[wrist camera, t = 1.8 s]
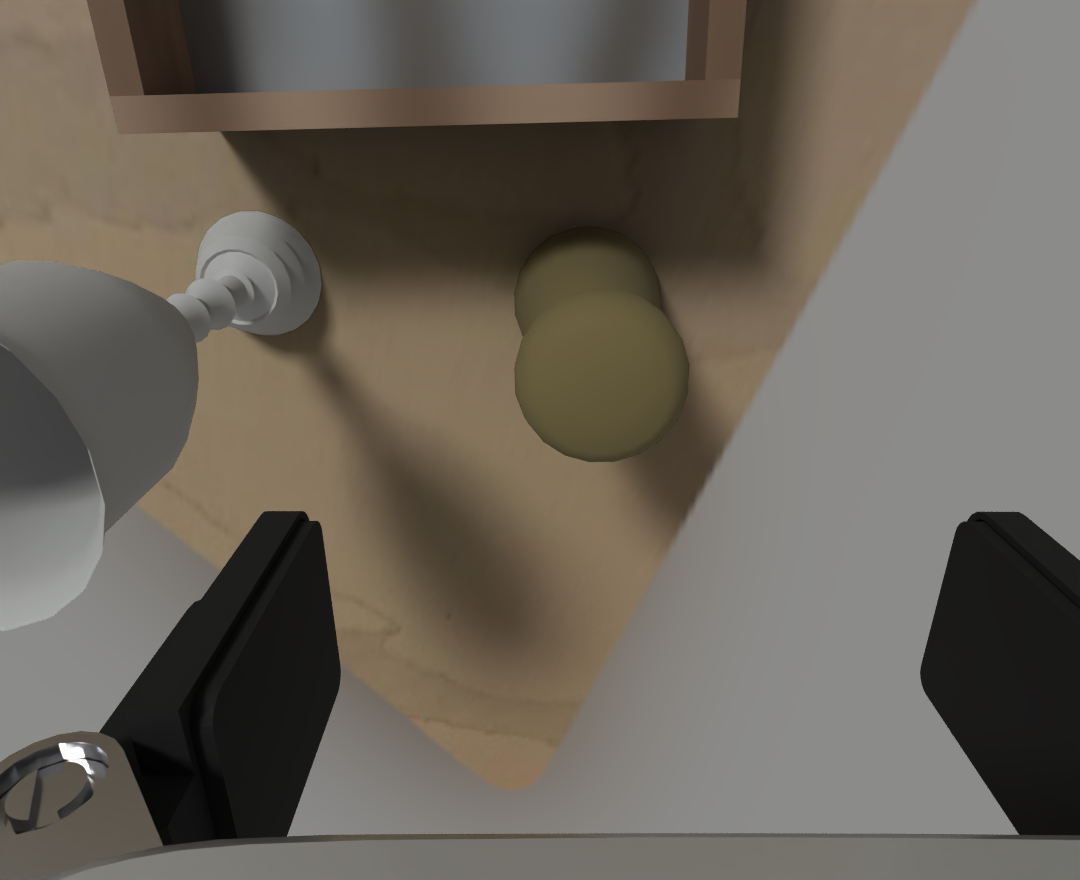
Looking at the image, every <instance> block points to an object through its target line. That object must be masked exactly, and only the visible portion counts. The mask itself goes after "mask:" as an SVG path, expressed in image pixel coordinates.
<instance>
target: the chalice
mask: <svg viewBox="0 0 1080 880" xmlns="http://www.w3.org/2000/svg"><path fill="white" fill-rule="evenodd" d="M195 278H196V281H194V282H193V283H192V284H191V285H190V286H189V287H188V289H187V291H186V294H175V295H172V296H170V297H169V298H168V299H167V300H165V299H163V298H162V297H160V296H158V295H156V294H154V293H152V292H150V291H148V290H146V289H144V288H142V287H140V286H138V285H136V284H134V283H132V282H130V281H127V280H124V279H121V278H118V277H115V276H112V275H109V274H107V273H104V272H101V271H96V270H91V269H87V268H82V267H77V266H73V265H68V264H64V263H59V262H44V261H13V262H10V263H6V264H3V265H0V631H7V630H10V629H14V628H17V627H21V626H24V625H27V624H31V623H34V622H38V621H41V620H44V619H47V618H51V617H52V616H53V615H55V614H56V613H57V612H58V611H59V610H61V609H62V608H63V607H64V606H66V605H67V604H68V603H69V602H71V601H72V600H73V599H74V598H75V597H77V596H78V595H79V594H80V593H82V592H83V591H84V590H85V587H86V585H87V583H88V581H89V579H90V577H91V575H92V573H93V571H94V569H95V567H96V565H97V563H98V561H99V559H100V557H101V554H102V552H103V544H104V536H105V532H106V531H107V530H108V529H109V528H111V526H113V525H114V524H115V523H116V522H117V521H118V520H119V519H120V518H121V517H122V516H123V515H124V514H125V513H126V512H127V511H128V510H129V509H130V508H131V507H132V506H133V505H134V504H135V503H136V502H137V501H139V500H140V499H141V498H142V497H143V496H144V495H145V494H146V493H147V492H148V491H149V490H150V489H151V488H152V487H153V486H154V485H155V484H156V483H157V482H158V481H159V480H160V479H161V478H162V477H163V476H164V475H166V474H167V473H168V472H169V471H170V470H171V469H172V468H173V466H174V464H175V462H176V460H177V459H178V457H179V455H180V453H181V451H182V449H183V447H184V445H185V443H186V441H187V438H188V434H189V430H190V426H191V422H192V418H193V414H194V410H195V406H196V399H197V389H198V380H199V376H198V360H197V347H196V342H199V341H202V340H203V339H204V338H205V337H207V335H208V333H209V331H210V329H215V330H219V329H222V328H225V327H227V326H230V327H233V328H236V329H239V330H243V331H247V332H251V333H255V334H258V335H280V334H283V333H286V332H289V331H292V330H295V329H297V328H298V327H299V326H300V325H302V324H303V323H304V322H306V321H307V320H308V319H309V318H310V316H311V315H312V313H313V311H314V310H315V308H316V306H317V305H318V302H319V297H320V292H321V287H322V283H321V274H320V266H319V264H318V261H317V259H316V257H315V255H314V252H313V250H312V248H311V246H310V245H309V244H308V242H307V241H306V240H305V239H304V238H303V236H302V235H301V234H300V233H299V232H298V230H296V229H295V228H293V227H292V226H291V225H289V224H288V223H286V222H285V221H283V220H282V219H280V218H278V217H275V216H272V215H269V214H266V213H263V212H260V211H240V212H237V213H234V214H231V215H228V216H225V217H223V218H221V219H220V220H219V221H218V222H217V223H215V224H214V225H213V226H212V227H211V228H210V229H208V231H207V233H206V235H205V237H204V239H203V241H202V243H201V244H200V247H199V255H198V262H197V267H196V275H195Z"/></svg>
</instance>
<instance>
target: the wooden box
mask: <svg viewBox="0 0 1080 880" xmlns="http://www.w3.org/2000/svg"><path fill="white" fill-rule="evenodd" d="M87 3H88V7H89V11H90V16H91V20H92V24H93V28H94V32H95V36H96V41H97V45H98V49H99V53H100V57H101V62H102V66H103V70H104V74H105V78H106V82H107V87H108V91H109V95H110V99H111V103H112V108H113V112H114V116H115V120H116V124H117V128H118V133H119V134H139V133H177V132H214V131H252V130H290V129H327V128H365V127H403V126H440V125H478V124H516V123H553V122H591V121H629V120H666V119H704V118H738V108H739V96H740V83H741V70H742V57H743V44H744V32H745V19H746V6H747V0H87Z"/></svg>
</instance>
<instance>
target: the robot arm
mask: <svg viewBox="0 0 1080 880" xmlns="http://www.w3.org/2000/svg"><path fill="white" fill-rule="evenodd" d="M340 674H341V669H340V660H339V652H338V645H337V638H336V630H335V623H334V615H333V608H332V601H331V593H330V586H329V579H328V571H327V564H326V557H325V549H324V542H323V535H322V529H321V525H320V523H319V522H318V521H309V518H308V516H307V514H306V513H305V512H304V511H266V512H264V513H262V514H261V516H260V517H259V518H258V520H257V521H256V523H255V524H254V526H253V527H252V528H251V530H250V531H249V533H248V534H247V535H246V537H245V538H244V540H243V541H242V542H241V544H240V545H239V547H238V548H237V550H236V551H235V552H234V554H233V555H232V557H231V558H230V559H229V561H228V562H227V564H226V565H225V567H224V568H223V569H222V571H221V572H220V574H219V575H218V576H217V578H216V579H215V581H214V582H213V584H212V585H211V586H210V588H209V589H208V591H207V592H206V593H205V595H204V596H203V598H202V599H201V600H199V601H196V602H194V603H193V604H192V606H190V608H188V610H187V611H186V613H185V614H184V615H183V617H182V618H181V619H180V621H179V622H178V624H177V625H176V626H175V628H174V629H173V630H172V632H171V633H170V635H169V636H168V637H167V639H166V640H165V642H164V643H163V644H162V646H161V647H160V648H159V650H158V651H157V653H156V654H155V655H154V657H153V658H152V660H151V661H150V662H149V664H148V665H147V666H146V668H145V669H144V671H143V672H142V673H141V675H140V676H139V678H138V679H137V680H136V682H135V683H134V685H133V686H132V687H131V689H130V690H129V692H128V693H127V694H126V696H125V697H124V698H123V700H122V701H121V703H120V704H119V705H118V707H117V708H116V709H115V711H114V712H113V714H112V715H111V716H110V718H109V719H108V721H107V722H106V723H105V725H104V726H103V728H102V729H101V730H100V732H99V733H97V732H82V731H80V732H73V733H67V734H60V735H56V736H53V737H50V738H47V739H44V740H41V741H38V742H35V743H33V744H31V745H29V746H27V747H25V748H23V749H21V750H19V751H17V752H16V753H13V754H12V755H10V756H8V757H7V758H6V759H4V760H3V761H1V762H0V880H1080V560H1078V559H1077V558H1076V557H1075V556H1073V555H1072V554H1071V553H1070V552H1069V551H1067V550H1066V549H1065V548H1064V547H1063V546H1061V545H1060V544H1059V543H1057V541H1055V540H1054V539H1053V538H1052V537H1050V536H1049V535H1048V534H1047V533H1045V532H1044V531H1043V530H1042V529H1040V528H1039V527H1038V526H1037V525H1036V524H1035V523H1033V522H1032V521H1031V520H1030V519H1029V518H1027V517H1026V516H1025V515H1023V514H1021V513H1019V512H976V513H974V514H972V515H971V516H970V518H969V519H968V521H967V522H962V523H960V524H959V526H958V527H957V530H956V532H955V536H954V540H953V544H952V547H951V551H950V555H949V559H948V563H947V567H946V571H945V575H944V579H943V582H942V586H941V590H940V594H939V598H938V602H937V606H936V610H935V614H934V618H933V622H932V625H931V629H930V633H929V637H928V641H927V645H926V649H925V653H924V657H923V660H922V665H921V670H920V675H921V682H922V686H923V689H924V691H925V693H926V695H927V696H928V698H929V700H930V701H931V702H932V704H933V706H934V707H935V709H936V710H937V711H938V713H939V714H940V716H941V718H942V719H943V721H944V722H945V724H946V725H947V727H948V728H949V729H950V731H951V733H952V734H953V736H954V737H955V739H956V740H957V742H958V743H959V745H960V746H961V748H962V749H963V751H964V752H965V754H966V755H967V757H968V758H969V760H970V761H971V763H972V764H973V766H974V767H975V769H976V770H977V772H978V773H979V775H980V776H981V778H982V779H983V781H984V782H985V784H986V785H987V787H988V788H989V790H990V791H991V793H992V794H993V796H994V797H995V799H996V800H997V802H998V803H999V805H1000V806H1001V808H1002V809H1003V811H1004V812H1005V814H1006V815H1007V817H1008V818H1009V820H1010V821H1011V823H1012V824H1013V826H1014V827H1015V829H1016V830H1017V832H1018V833H1019V835H965V834H963V835H962V834H960V835H958V834H766V833H761V834H758V833H757V834H756V833H751V834H750V833H749V834H748V833H747V834H746V833H741V834H740V833H736V834H735V833H729V834H728V833H714V834H713V833H708V834H707V833H701V834H700V833H694V834H693V833H609V834H608V833H607V834H605V833H601V834H600V833H599V834H598V833H596V834H595V833H594V834H592V833H590V834H387V835H386V834H380V835H376V834H375V835H374V834H373V835H314V836H290V837H287V834H288V832H289V829H290V826H291V823H292V820H293V817H294V815H295V812H296V809H297V806H298V803H299V801H300V798H301V795H302V792H303V789H304V787H305V783H306V781H307V778H308V775H309V772H310V769H311V767H312V764H313V761H314V758H315V755H316V753H317V750H318V747H319V744H320V741H321V739H322V736H323V733H324V730H325V727H326V725H327V722H328V719H329V716H330V713H331V711H332V708H333V705H334V702H335V699H336V696H337V693H338V690H339V685H340Z"/></svg>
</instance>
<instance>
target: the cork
mask: <svg viewBox="0 0 1080 880" xmlns="http://www.w3.org/2000/svg"><path fill="white" fill-rule="evenodd" d="M514 296H515V315H516V318H517V321H518V324H519V327H520V329H521V332H522V335H523V339H522V342H521V345H520V349H519V352H518V356H517V359H516V362H515V368H514V371H515V394H516V397H517V399H518V402H519V405H520V407H521V410H522V412H523V415H524V417H525V419H526V421H527V422H528V424H529V425H530V426H531V427H532V428H533V430H534V431H535V432H536V433H537V434H538V436H539V437H540V438H541V439H542V440H543V442H545V443H546V444H548V445H549V446H551V447H553V448H554V449H556V450H557V451H559V452H560V453H562V454H564V455H566V456H569V457H573V458H577V459H580V460H584V461H587V462H615V461H618V460H621V459H625V458H628V457H631V456H634V455H638V454H640V453H641V452H643V451H645V450H646V449H648V448H649V447H651V446H652V445H654V444H655V443H657V442H658V441H660V440H661V439H662V438H663V436H664V435H665V434H666V433H667V432H668V430H669V429H670V428H671V427H672V426H673V424H674V423H675V422H676V421H677V419H678V416H679V414H680V412H681V409H682V407H683V404H684V402H685V399H686V397H687V392H688V378H689V362H688V359H687V355H686V352H685V348H684V345H683V341H682V339H681V337H680V335H679V334H678V332H677V331H676V330H675V328H674V327H673V325H672V324H671V323H670V321H669V320H668V318H667V317H666V316H665V314H664V313H663V312H662V311H660V288H659V284H658V281H657V277H656V274H655V270H654V267H653V266H652V264H651V263H650V261H649V260H648V258H647V257H646V256H645V254H644V253H643V251H642V250H641V248H639V247H638V246H637V245H635V244H634V243H633V242H631V241H630V240H628V239H627V238H626V237H624V236H623V235H622V234H619V233H615V232H612V231H609V230H606V229H603V228H599V227H594V228H574V229H571V230H568V231H565V232H562V233H560V234H557V235H554V236H552V237H551V238H549V239H548V240H547V241H546V242H544V243H543V244H542V245H540V246H539V247H538V248H537V249H535V250H534V251H533V253H532V254H531V256H530V257H529V258H528V260H527V261H526V263H525V264H524V266H523V267H522V269H521V271H520V274H519V278H518V281H517V285H516V288H515V292H514Z"/></svg>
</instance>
